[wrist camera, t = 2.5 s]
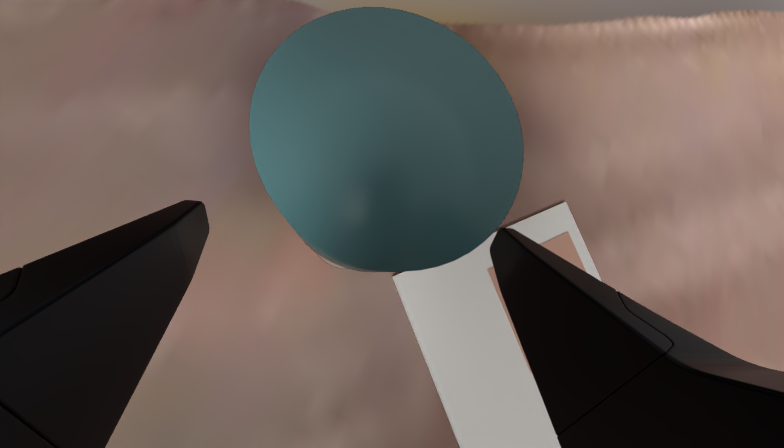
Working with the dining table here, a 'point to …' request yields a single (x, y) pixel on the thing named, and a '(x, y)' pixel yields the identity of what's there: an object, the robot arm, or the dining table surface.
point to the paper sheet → (486, 339)
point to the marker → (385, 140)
